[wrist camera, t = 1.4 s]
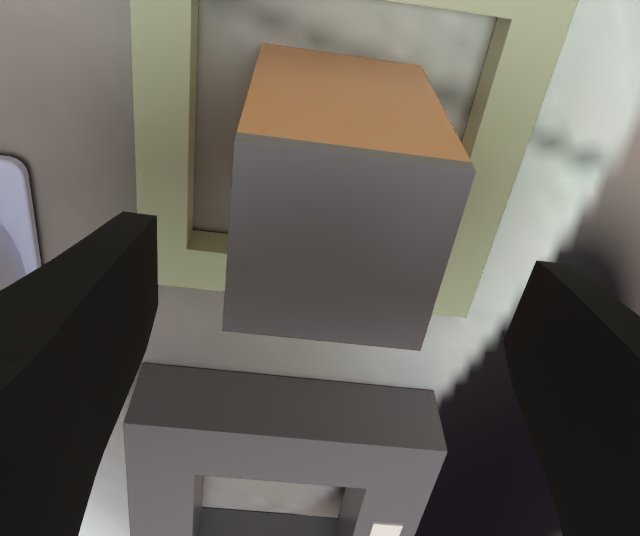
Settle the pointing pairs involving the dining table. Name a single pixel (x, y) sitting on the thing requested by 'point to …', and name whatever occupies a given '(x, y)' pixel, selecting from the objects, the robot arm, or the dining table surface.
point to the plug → (341, 200)
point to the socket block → (277, 451)
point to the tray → (478, 141)
